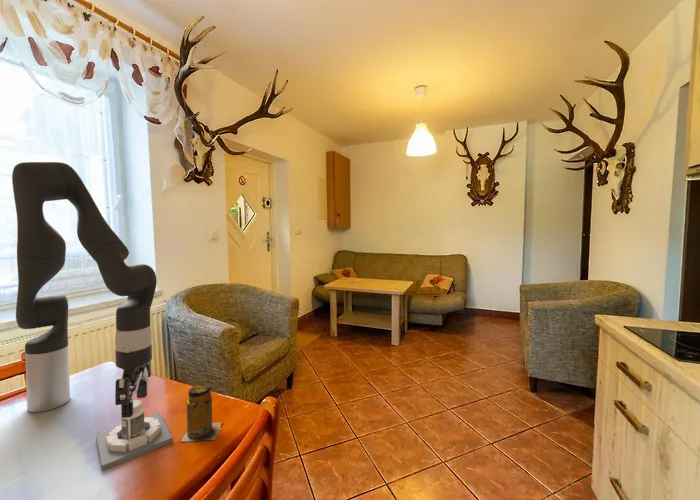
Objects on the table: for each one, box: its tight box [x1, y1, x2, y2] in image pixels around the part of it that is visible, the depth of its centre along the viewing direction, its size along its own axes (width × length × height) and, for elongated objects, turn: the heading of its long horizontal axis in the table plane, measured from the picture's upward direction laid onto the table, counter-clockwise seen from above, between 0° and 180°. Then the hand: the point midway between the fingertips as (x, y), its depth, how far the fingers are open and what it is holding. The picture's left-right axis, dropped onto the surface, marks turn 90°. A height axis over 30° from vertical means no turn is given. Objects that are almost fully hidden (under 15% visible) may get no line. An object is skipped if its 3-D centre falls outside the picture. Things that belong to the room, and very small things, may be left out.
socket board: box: [95, 413, 174, 472], centre depth 78 cm, size 14×14×3 cm
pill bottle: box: [120, 399, 145, 440], centre depth 78 cm, size 5×5×8 cm
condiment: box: [180, 383, 222, 442], centre depth 81 cm, size 7×8×12 cm
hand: (135, 406), depth 78 cm, fingers open, 8 cm apart
